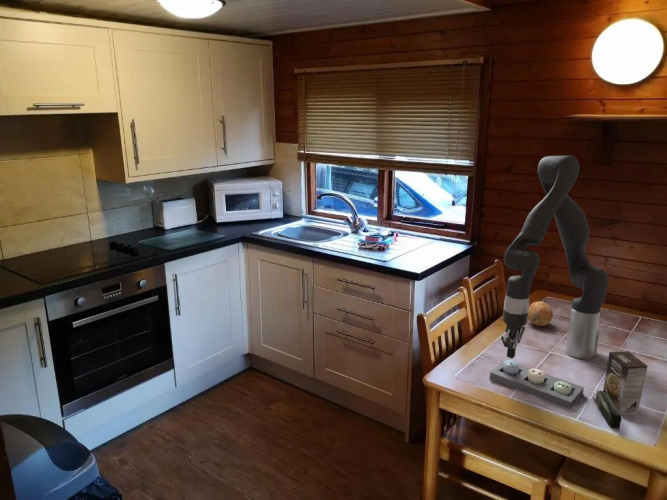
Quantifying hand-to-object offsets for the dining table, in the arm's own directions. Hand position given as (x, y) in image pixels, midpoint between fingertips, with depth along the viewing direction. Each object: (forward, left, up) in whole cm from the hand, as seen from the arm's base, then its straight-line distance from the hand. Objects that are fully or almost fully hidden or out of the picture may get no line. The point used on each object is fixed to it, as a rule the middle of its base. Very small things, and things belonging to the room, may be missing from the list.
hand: (510, 357), depth 172 cm
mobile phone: (-21, +22, -8) cm, 31 cm away
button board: (-6, +6, -7) cm, 12 cm away
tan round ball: (-26, -39, -8) cm, 48 cm away
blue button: (0, 0, -5) cm, 5 cm away
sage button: (-12, +12, -7) cm, 19 cm away
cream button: (-6, +6, -5) cm, 10 cm away
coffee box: (-27, +18, -8) cm, 34 cm away
